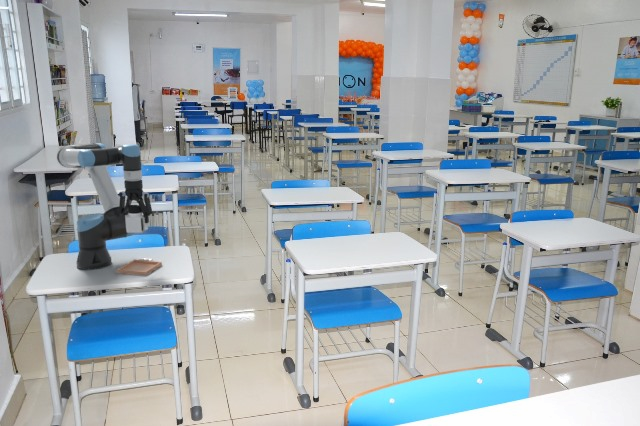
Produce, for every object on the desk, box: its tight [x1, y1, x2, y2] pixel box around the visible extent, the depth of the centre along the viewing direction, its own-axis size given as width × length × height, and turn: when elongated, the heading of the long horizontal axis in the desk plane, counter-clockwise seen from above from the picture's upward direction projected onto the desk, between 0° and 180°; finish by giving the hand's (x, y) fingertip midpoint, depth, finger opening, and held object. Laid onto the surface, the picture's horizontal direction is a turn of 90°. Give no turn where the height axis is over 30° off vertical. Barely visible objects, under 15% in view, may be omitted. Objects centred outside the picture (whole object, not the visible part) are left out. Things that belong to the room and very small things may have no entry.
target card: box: [138, 257, 153, 261], centre depth 252 cm, size 6×5×1 cm
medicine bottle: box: [125, 203, 145, 234], centre depth 236 cm, size 7×7×12 cm
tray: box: [116, 259, 163, 276], centre depth 241 cm, size 14×14×2 cm
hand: (137, 229), depth 237 cm, fingers closed on medicine bottle, 8 cm apart
